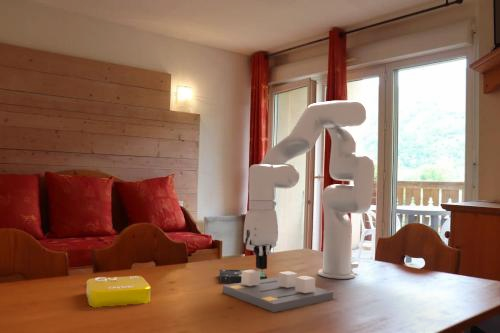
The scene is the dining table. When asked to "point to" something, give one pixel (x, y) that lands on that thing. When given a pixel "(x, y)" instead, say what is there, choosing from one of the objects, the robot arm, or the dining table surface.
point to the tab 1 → (250, 277)
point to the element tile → (117, 291)
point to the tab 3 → (305, 284)
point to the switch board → (275, 295)
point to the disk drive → (235, 276)
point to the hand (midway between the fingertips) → (261, 268)
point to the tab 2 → (287, 279)
